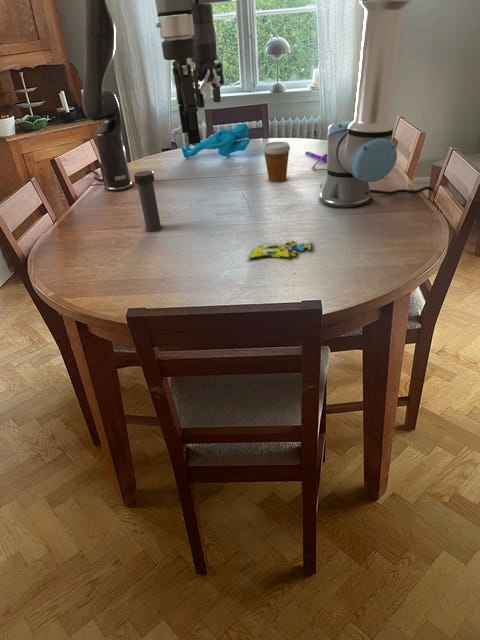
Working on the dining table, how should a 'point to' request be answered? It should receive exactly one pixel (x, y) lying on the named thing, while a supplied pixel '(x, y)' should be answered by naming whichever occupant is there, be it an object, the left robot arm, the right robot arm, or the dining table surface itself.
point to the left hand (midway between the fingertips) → (209, 104)
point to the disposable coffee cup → (276, 160)
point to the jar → (149, 207)
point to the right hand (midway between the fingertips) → (191, 137)
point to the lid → (144, 177)
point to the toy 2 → (279, 250)
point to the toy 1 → (222, 142)
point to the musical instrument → (318, 158)
